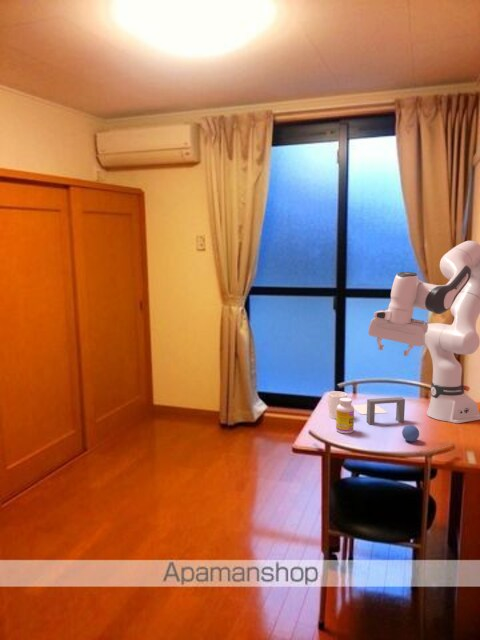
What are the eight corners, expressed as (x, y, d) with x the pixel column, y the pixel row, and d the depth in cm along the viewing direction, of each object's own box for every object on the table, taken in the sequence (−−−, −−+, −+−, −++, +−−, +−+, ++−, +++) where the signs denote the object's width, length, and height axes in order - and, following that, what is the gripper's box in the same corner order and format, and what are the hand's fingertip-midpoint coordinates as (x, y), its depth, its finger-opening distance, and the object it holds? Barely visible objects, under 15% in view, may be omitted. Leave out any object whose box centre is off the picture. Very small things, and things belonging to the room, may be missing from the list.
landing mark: (375, 404, 225) (375, 403, 225) (387, 412, 213) (387, 412, 213) (350, 405, 222) (350, 405, 222) (361, 414, 211) (361, 414, 211)
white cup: (348, 419, 205) (348, 396, 203) (329, 419, 205) (329, 396, 204) (344, 413, 213) (345, 391, 211) (326, 413, 213) (326, 391, 211)
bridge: (366, 422, 202) (367, 399, 201) (400, 419, 205) (401, 397, 203) (369, 424, 199) (370, 401, 198) (403, 422, 202) (405, 399, 200)
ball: (413, 437, 186) (414, 422, 185) (422, 443, 180) (422, 427, 179) (398, 438, 185) (399, 423, 184) (406, 444, 179) (407, 429, 178)
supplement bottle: (349, 435, 188) (350, 403, 186) (333, 432, 192) (334, 400, 190) (355, 429, 194) (356, 398, 192) (339, 426, 197) (340, 395, 195)
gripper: (430, 321, 177) (423, 357, 180) (375, 310, 188) (369, 345, 190) (427, 322, 172) (419, 360, 175) (370, 311, 182) (364, 347, 185)
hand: (393, 352), depth 183 cm, fingers open, 8 cm apart
